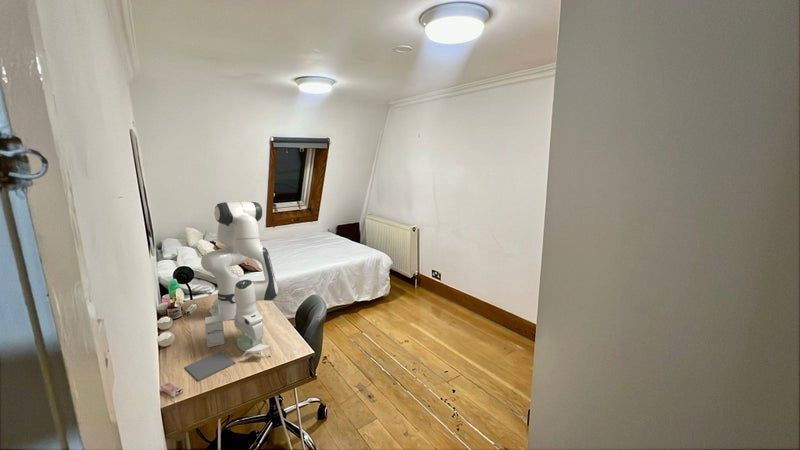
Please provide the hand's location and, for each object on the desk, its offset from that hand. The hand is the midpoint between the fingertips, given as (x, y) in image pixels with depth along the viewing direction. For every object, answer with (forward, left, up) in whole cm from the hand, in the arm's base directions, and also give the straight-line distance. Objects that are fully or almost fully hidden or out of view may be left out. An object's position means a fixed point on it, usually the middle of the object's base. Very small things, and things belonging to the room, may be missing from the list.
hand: (249, 341), depth 161 cm
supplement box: (-15, -9, -2) cm, 18 cm away
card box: (0, 0, -2) cm, 2 cm away
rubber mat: (+2, -19, -2) cm, 19 cm away
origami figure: (+12, -3, -2) cm, 13 cm away
